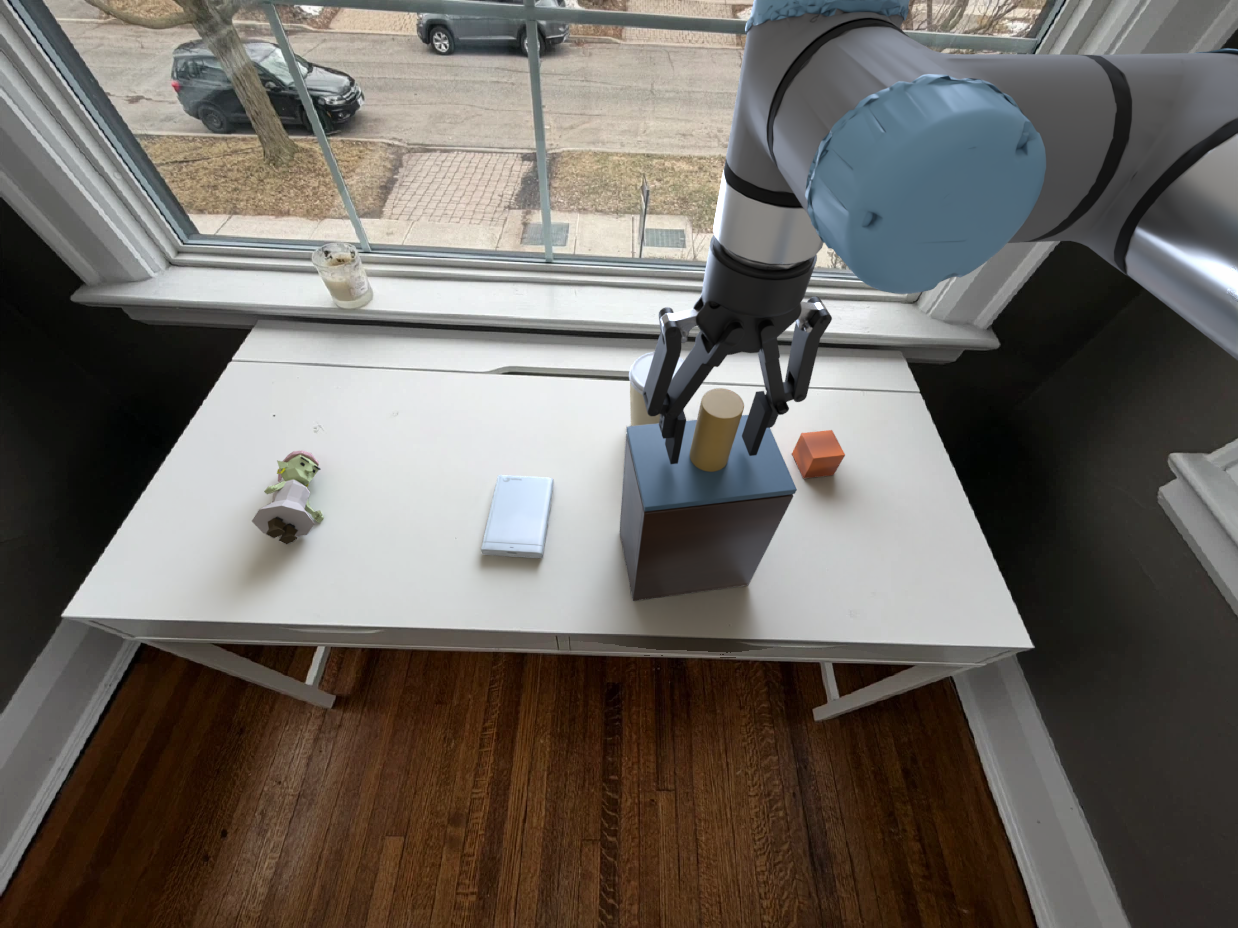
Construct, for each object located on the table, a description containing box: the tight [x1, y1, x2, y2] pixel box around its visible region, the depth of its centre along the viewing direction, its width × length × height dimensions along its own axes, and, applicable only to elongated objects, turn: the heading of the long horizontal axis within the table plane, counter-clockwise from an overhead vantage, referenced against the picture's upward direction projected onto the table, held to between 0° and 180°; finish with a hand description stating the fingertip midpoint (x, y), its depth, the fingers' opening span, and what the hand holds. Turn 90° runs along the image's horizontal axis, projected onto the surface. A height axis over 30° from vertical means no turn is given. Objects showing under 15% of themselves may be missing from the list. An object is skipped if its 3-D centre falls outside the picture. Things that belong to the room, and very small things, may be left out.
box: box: [619, 433, 794, 602], centre depth 66 cm, size 11×16×21 cm
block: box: [791, 429, 846, 480], centre depth 83 cm, size 5×5×5 cm
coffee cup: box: [628, 351, 685, 426], centre depth 84 cm, size 9×9×12 cm
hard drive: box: [480, 474, 555, 559], centre depth 77 cm, size 2×8×12 cm
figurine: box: [251, 449, 325, 545], centre depth 75 cm, size 9×7×15 cm
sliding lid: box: [626, 387, 798, 512], centre depth 54 cm, size 11×16×9 cm
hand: (710, 449), depth 56 cm, fingers open, 8 cm apart
